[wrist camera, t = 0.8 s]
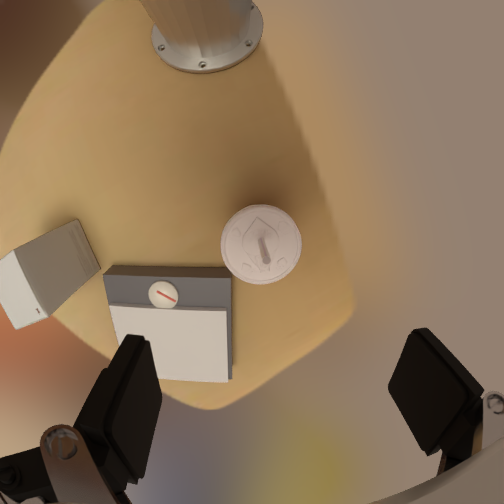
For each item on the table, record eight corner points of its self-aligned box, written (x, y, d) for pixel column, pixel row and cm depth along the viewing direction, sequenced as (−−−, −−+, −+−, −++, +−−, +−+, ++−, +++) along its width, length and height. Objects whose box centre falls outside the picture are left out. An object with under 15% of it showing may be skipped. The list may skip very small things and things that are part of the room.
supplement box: (78, 217, 29) (13, 247, 17) (102, 269, 31) (49, 320, 19) (44, 237, 29) (-16, 271, 17) (66, 285, 31) (15, 332, 19)
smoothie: (279, 188, 29) (314, 210, 16) (286, 244, 31) (320, 304, 18) (220, 197, 29) (206, 226, 16) (230, 252, 31) (226, 319, 18)
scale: (112, 265, 31) (99, 277, 27) (231, 267, 32) (230, 281, 28) (132, 358, 35) (125, 375, 32) (232, 365, 36) (232, 383, 33)
